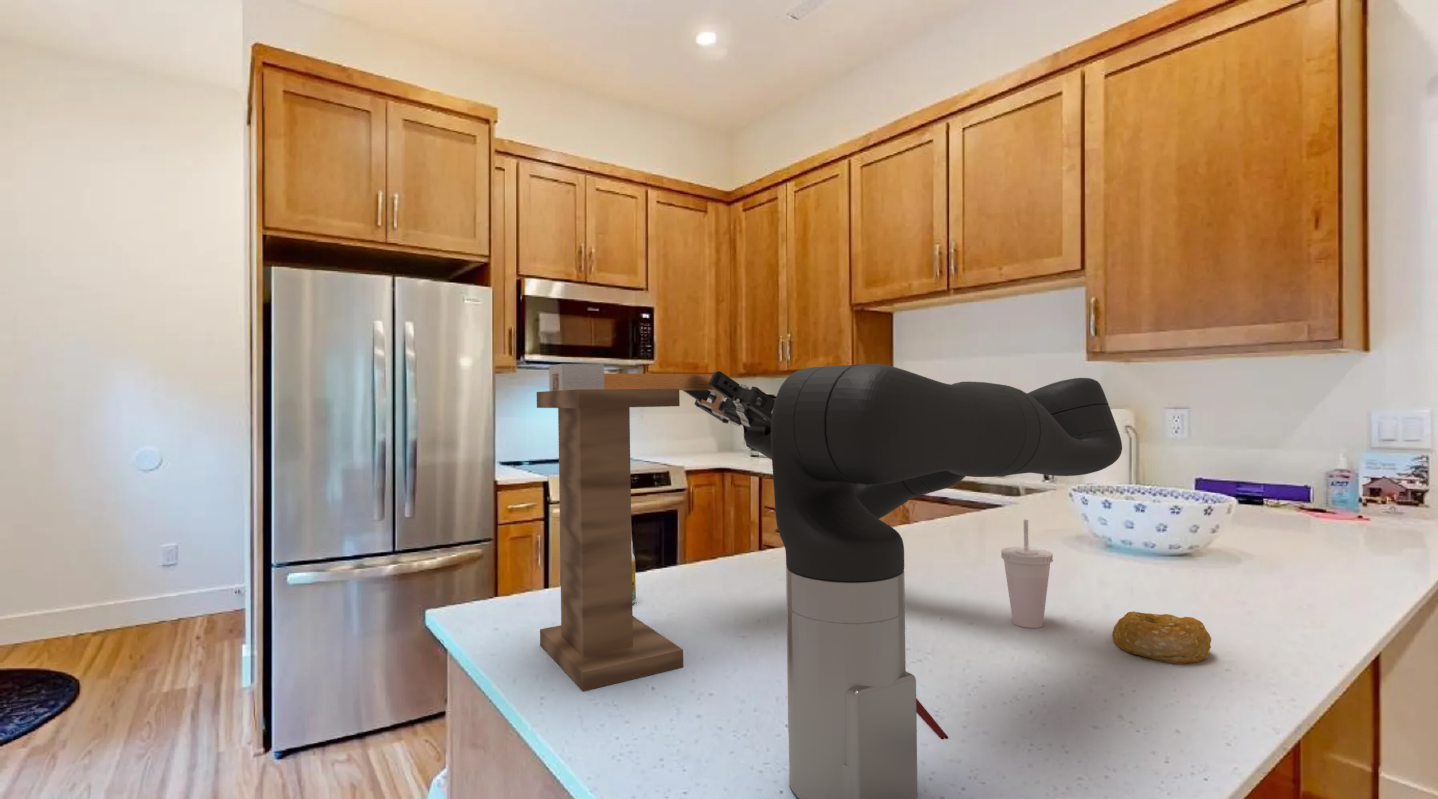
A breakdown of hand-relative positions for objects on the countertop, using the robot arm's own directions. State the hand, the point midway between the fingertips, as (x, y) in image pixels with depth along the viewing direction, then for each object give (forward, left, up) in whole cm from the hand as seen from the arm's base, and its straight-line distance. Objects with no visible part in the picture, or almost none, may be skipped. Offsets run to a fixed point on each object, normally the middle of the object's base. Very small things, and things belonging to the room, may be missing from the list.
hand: (696, 378), depth 88 cm
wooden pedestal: (0, +13, -33) cm, 36 cm away
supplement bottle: (+19, +4, -34) cm, 39 cm away
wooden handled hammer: (0, +8, -1) cm, 8 cm away
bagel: (-34, -44, -34) cm, 65 cm away
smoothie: (-20, -39, -34) cm, 55 cm away
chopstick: (-24, -11, -34) cm, 43 cm away
